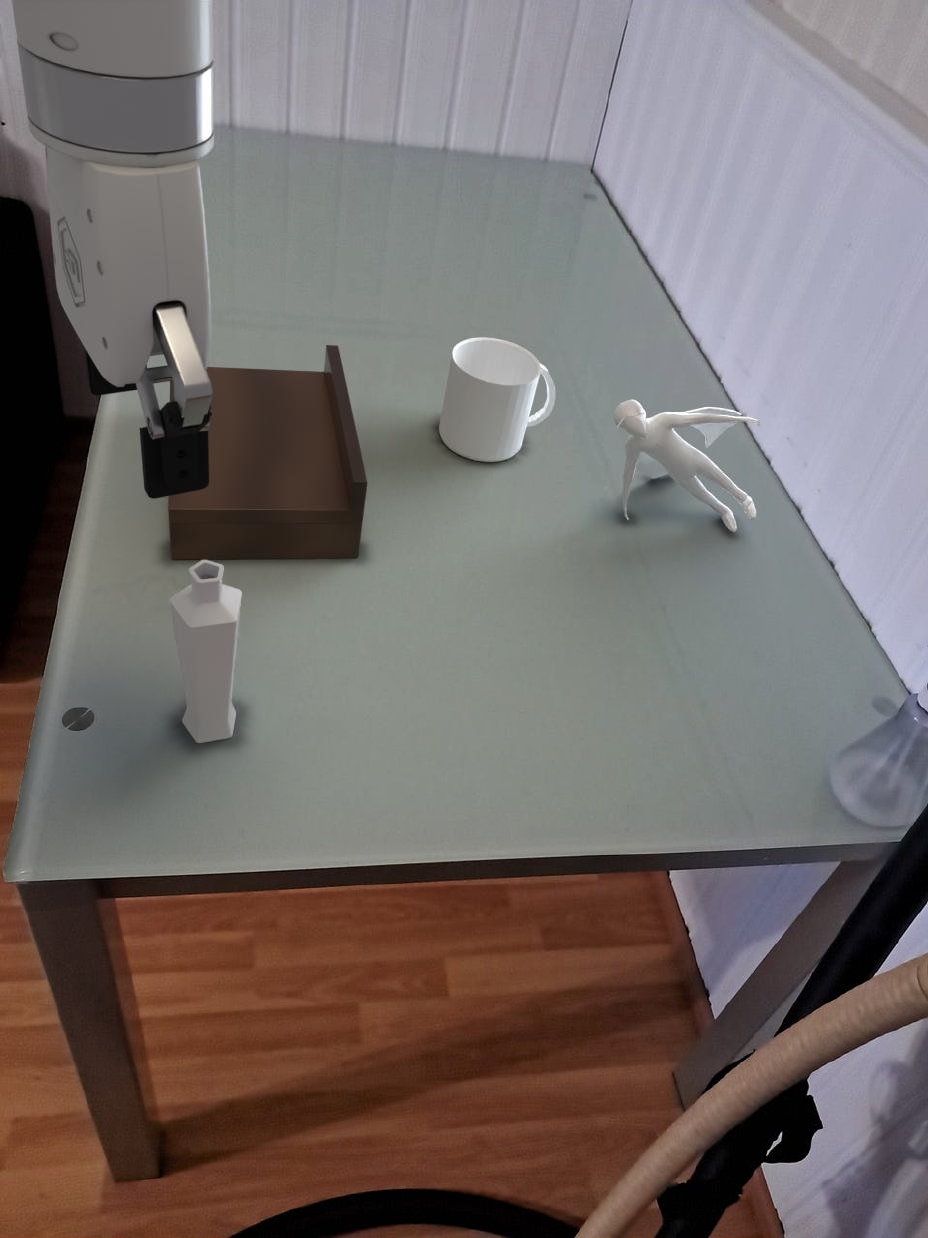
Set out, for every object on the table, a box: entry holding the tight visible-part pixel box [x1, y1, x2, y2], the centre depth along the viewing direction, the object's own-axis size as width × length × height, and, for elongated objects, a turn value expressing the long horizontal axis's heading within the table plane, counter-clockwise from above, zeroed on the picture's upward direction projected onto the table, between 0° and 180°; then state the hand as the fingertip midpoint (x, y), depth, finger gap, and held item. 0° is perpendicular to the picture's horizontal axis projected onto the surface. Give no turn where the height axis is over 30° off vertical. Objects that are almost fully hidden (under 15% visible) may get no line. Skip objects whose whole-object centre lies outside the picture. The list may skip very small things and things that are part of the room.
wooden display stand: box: [167, 344, 368, 560], centre depth 88 cm, size 16×22×8 cm
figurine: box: [608, 399, 761, 533], centre depth 94 cm, size 16×11×20 cm
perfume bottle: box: [168, 559, 243, 744], centre depth 65 cm, size 5×4×15 cm
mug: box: [438, 336, 556, 463], centre depth 100 cm, size 12×9×9 cm
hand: (146, 437), depth 52 cm, fingers open, 9 cm apart
